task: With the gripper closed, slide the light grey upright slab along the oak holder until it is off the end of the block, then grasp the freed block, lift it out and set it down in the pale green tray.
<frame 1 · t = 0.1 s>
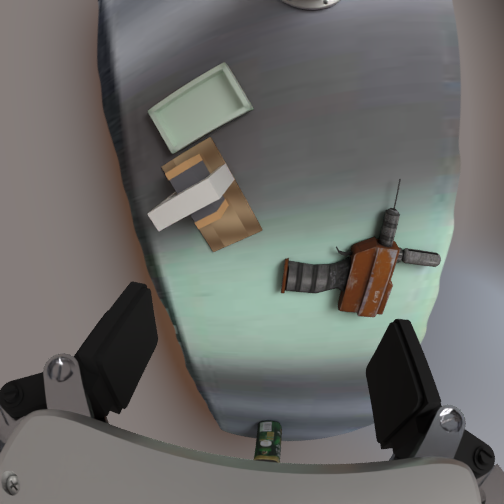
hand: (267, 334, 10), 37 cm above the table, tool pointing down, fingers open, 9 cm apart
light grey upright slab: (193, 194, 41), point 6 cm above the table, slide at 0.0 cm
tray: (201, 108, 40), on the table
block: (203, 185, 46), resting on holder
tool: (367, 245, 48), on the table
coffee jar: (270, 425, 81), on the table
holder: (211, 196, 47), on the table
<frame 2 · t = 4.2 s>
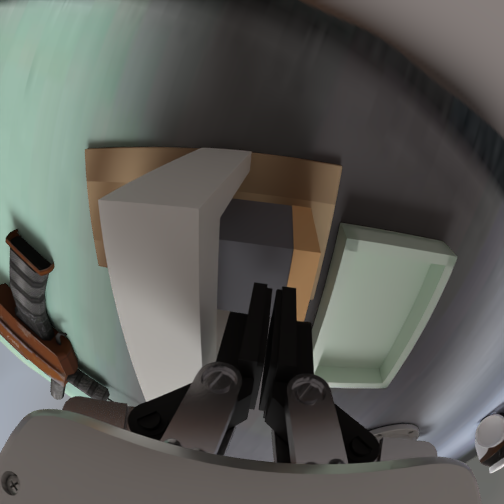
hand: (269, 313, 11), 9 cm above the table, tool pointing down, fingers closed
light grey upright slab: (199, 270, 14), point 6 cm above the table, slide at 0.5 cm, touching gripper
spread jar: (489, 420, 32), on the table
tray: (368, 312, 21), on the table
block: (230, 227, 19), resting on holder
tool: (69, 348, 31), on the table
holder: (196, 220, 19), on the table
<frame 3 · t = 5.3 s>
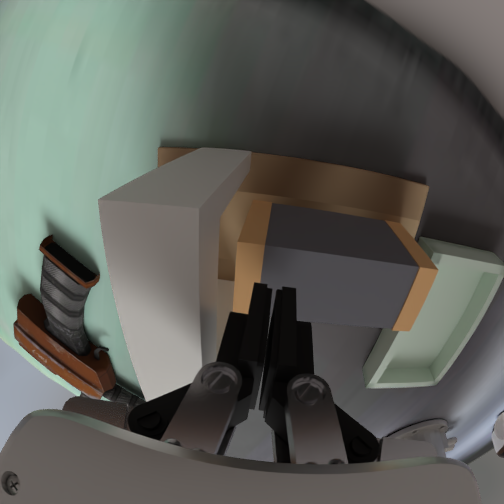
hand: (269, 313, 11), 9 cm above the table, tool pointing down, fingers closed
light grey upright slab: (199, 270, 14), point 6 cm above the table, slide at 6.8 cm, touching gripper
tray: (429, 316, 21), on the table
block: (325, 239, 18), resting on holder
tool: (105, 361, 31), on the table
holder: (288, 231, 19), on the table
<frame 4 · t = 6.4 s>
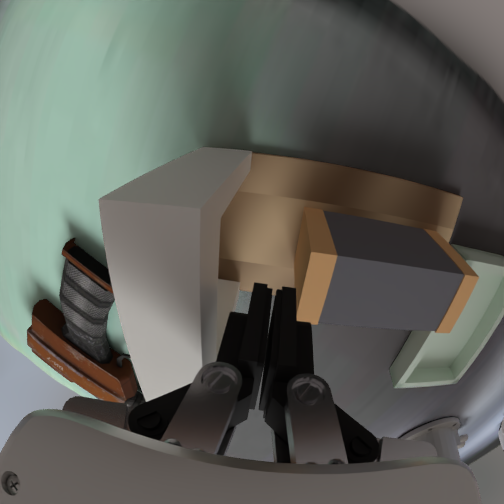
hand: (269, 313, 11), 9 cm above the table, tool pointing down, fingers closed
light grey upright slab: (199, 269, 14), point 6 cm above the table, slide at 10.1 cm, touching gripper
tray: (453, 318, 21), on the table
block: (369, 246, 18), resting on holder
tool: (125, 368, 30), on the table
holder: (334, 238, 19), on the table
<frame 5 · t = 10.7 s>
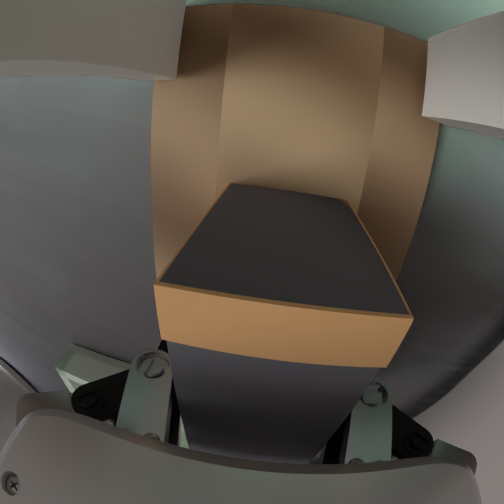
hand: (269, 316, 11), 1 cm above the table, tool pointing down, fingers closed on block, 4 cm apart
tray: (168, 405, 18), on the table
block: (270, 307, 12), point 1 cm above the table, touching gripper, holder
holder: (279, 249, 11), on the table
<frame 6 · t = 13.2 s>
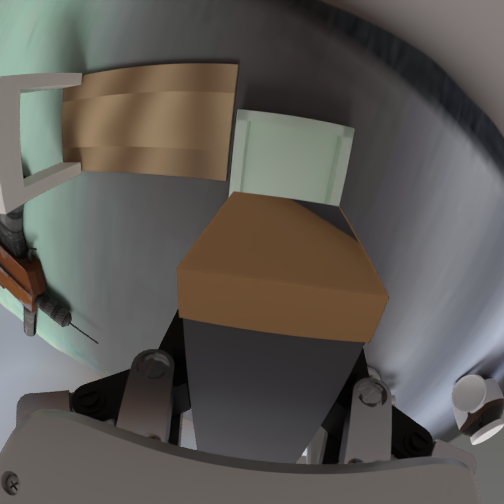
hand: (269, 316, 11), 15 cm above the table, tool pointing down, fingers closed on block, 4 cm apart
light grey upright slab: (32, 133, 17), point 6 cm above the table, slide at 10.0 cm
spread jar: (467, 384, 36), on the table
tray: (283, 198, 24), on the table
block: (270, 305, 13), point 13 cm above the table, touching gripper
tool: (40, 272, 33), on the table
holder: (134, 119, 22), on the table
when the fingers open (3 cm above the table, at t = 16.0 s): block stays where it is, resting on tray.
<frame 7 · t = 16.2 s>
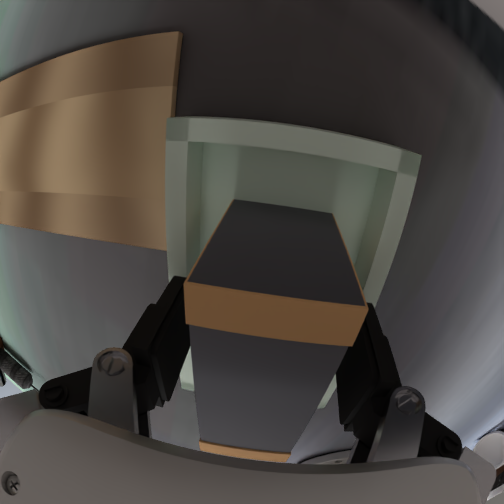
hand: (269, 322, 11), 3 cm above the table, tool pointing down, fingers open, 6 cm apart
spread jar: (489, 437, 24), on the table
tray: (273, 279, 14), on the table
block: (267, 303, 14), point 1 cm above the table, touching tray
holder: (37, 148, 12), on the table
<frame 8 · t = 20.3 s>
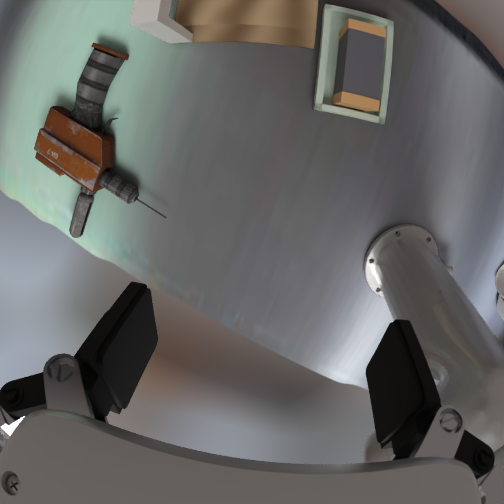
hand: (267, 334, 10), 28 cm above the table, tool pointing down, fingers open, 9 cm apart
tray: (352, 63, 27), on the table
block: (352, 70, 27), point 1 cm above the table, touching tray
tool: (108, 154, 37), on the table
holder: (244, 9, 25), on the table
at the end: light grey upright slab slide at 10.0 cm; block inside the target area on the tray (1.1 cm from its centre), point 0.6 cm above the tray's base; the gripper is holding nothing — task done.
